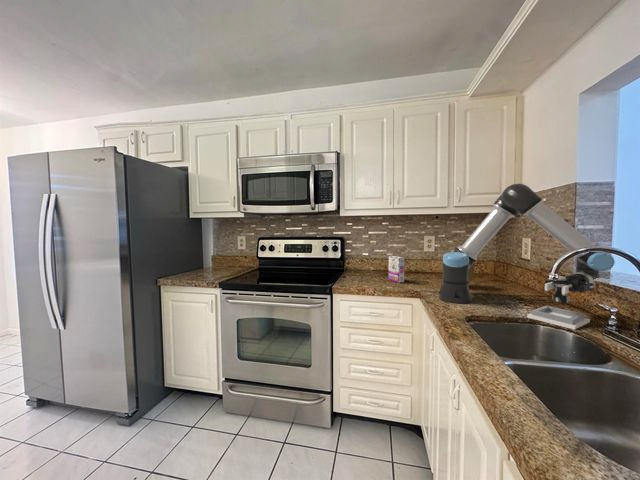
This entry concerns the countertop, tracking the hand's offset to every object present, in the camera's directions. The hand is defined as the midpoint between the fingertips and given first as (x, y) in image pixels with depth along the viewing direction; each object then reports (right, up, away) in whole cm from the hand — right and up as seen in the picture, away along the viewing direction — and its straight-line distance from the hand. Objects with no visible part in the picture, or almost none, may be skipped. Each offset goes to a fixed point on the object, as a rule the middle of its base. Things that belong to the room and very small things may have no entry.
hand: (554, 288), depth 107 cm
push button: (+5, -6, +3) cm, 8 cm away
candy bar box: (-41, -9, +76) cm, 86 cm away
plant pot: (-6, -10, +60) cm, 61 cm away
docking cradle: (+4, -13, +4) cm, 14 cm away
